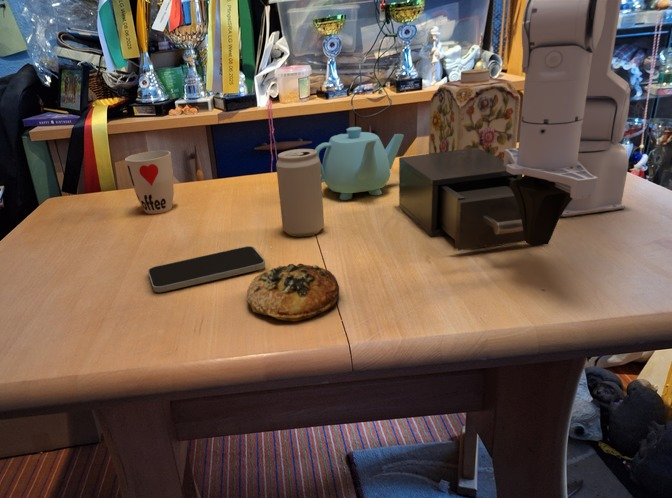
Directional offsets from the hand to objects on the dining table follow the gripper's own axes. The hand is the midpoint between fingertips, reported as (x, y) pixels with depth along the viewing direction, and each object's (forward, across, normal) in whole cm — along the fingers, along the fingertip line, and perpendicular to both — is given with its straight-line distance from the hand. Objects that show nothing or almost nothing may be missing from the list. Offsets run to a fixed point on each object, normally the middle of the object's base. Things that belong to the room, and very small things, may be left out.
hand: (536, 243), depth 63 cm
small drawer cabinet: (+4, -23, 0) cm, 23 cm away
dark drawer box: (+3, -12, 0) cm, 13 cm away
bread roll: (+4, -2, -28) cm, 28 cm away
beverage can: (+4, -25, -23) cm, 34 cm away
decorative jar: (+4, -45, +12) cm, 47 cm away
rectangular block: (+2, -12, 0) cm, 12 cm away
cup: (+4, -47, -47) cm, 67 cm away
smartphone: (+4, -14, -38) cm, 41 cm away
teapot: (+4, -42, -10) cm, 43 cm away
